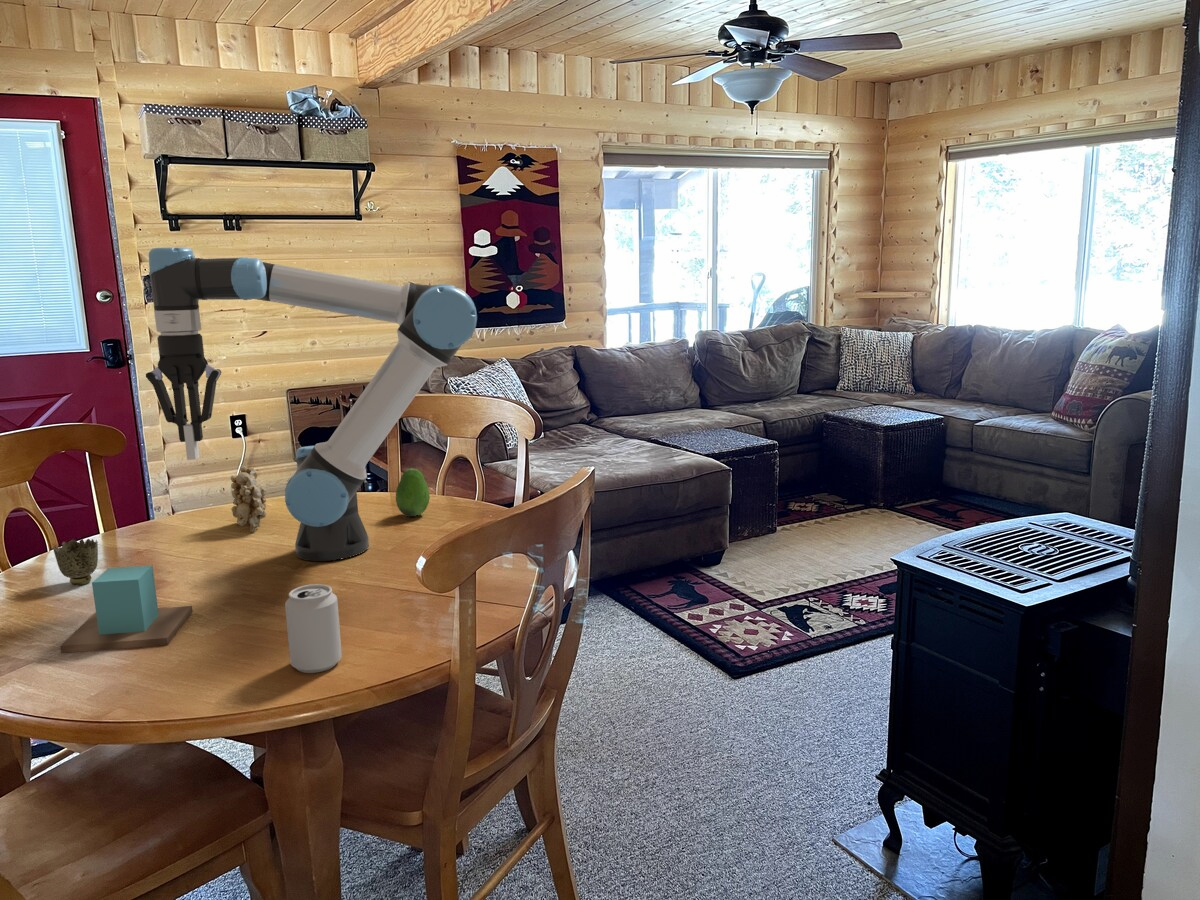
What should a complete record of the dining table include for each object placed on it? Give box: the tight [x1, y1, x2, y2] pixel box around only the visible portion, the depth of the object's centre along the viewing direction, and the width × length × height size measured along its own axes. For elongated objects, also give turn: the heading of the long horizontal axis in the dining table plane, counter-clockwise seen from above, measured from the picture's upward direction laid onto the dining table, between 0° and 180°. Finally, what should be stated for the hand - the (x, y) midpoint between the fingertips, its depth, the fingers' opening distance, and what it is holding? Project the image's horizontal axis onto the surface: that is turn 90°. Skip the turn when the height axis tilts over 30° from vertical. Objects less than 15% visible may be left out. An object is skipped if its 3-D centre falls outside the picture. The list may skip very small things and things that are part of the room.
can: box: [284, 583, 342, 674], centre depth 133 cm, size 8×8×12 cm
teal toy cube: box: [91, 565, 159, 635], centre depth 146 cm, size 7×7×9 cm
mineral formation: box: [230, 465, 267, 533], centre depth 205 cm, size 8×13×15 cm, turn 31°
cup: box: [52, 538, 99, 586], centre depth 170 cm, size 8×7×8 cm
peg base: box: [59, 605, 194, 654], centre depth 146 cm, size 16×14×7 cm
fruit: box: [395, 467, 431, 517], centre depth 213 cm, size 8×8×12 cm
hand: (193, 458), depth 166 cm, fingers closed
